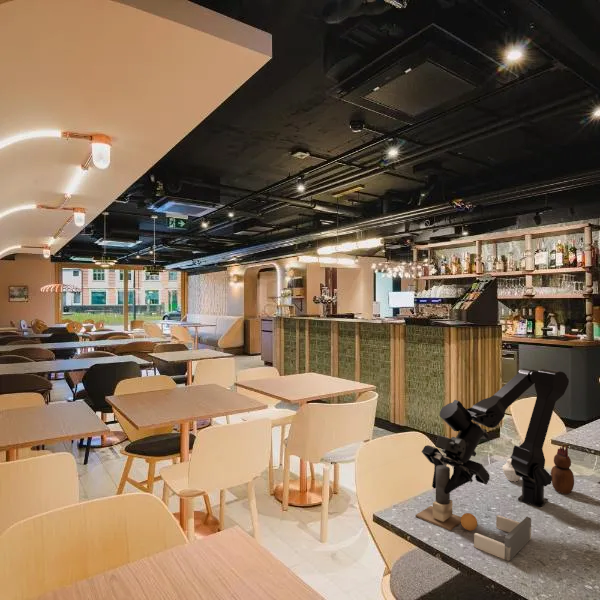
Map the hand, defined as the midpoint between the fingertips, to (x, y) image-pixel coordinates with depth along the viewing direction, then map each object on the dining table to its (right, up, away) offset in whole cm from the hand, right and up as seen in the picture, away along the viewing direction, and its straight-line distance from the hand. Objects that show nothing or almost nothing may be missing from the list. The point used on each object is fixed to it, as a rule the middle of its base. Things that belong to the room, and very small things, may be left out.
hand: (439, 490), depth 116 cm
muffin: (+33, -9, +28) cm, 44 cm away
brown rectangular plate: (+1, -8, +1) cm, 8 cm away
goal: (+12, -8, -11) cm, 18 cm away
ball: (+6, -6, -5) cm, 10 cm away
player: (+1, -8, +1) cm, 8 cm away
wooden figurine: (+44, -9, +19) cm, 49 cm away
